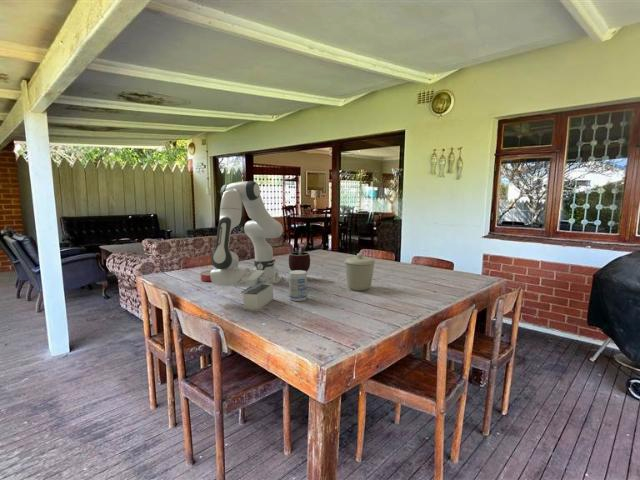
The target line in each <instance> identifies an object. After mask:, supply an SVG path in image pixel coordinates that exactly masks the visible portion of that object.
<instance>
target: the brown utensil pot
mask: <svg viewBox="0 0 640 480" xmlns="http://www.w3.org/2000/svg"><path fill="white" fill-rule="evenodd" d="M288 266H289V270H290V271H294V270H302V271H306V272H308V271H309V269H310V267H311V256H310V252H307V251H302V246H300V247H299V249H298V251H294V252H289V254H288ZM309 280H310V277H308V276H307V282H308V281H309Z"/></svg>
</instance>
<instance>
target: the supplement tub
mask: <svg viewBox="0 0 640 480" xmlns="http://www.w3.org/2000/svg"><path fill="white" fill-rule="evenodd" d="M307 272H308V271H307ZM307 272H306V271H302V270H294V271H291V270H290V271H289V274H288V297H289V300H291V301H294V302H303V301H306V299H308V281H307V277H308V273H307Z"/></svg>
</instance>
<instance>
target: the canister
mask: <svg viewBox="0 0 640 480" xmlns="http://www.w3.org/2000/svg"><path fill="white" fill-rule="evenodd" d="M343 262H344V264H345V273H346V284H347V287H348V289H350V290H353V291H359V292H360V291H366V290H367V291H368V290H369V289H371V286H372V282H373V276H374V275H373V274H374V268H375V263H376V260H374V259H373V258H371V257H367V256H364V255H363V253H359V252H358V253H357V254H356V256H351V257H347V258H346V259H345V260H344V261H343Z"/></svg>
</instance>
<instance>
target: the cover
mask: <svg viewBox="0 0 640 480" xmlns="http://www.w3.org/2000/svg"><path fill="white" fill-rule="evenodd" d="M270 279H272V276H271V277H270ZM265 282H267V281H262V282H259V283H258V284H257V285H256V286H253V287H247V288H245V289H243V290H241V291H240V294H241V295H243V294H244V293H246V292H248V291H250V290H252V289H254V288H257V287H258V286H260V285H262V284H263V283H265Z"/></svg>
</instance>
